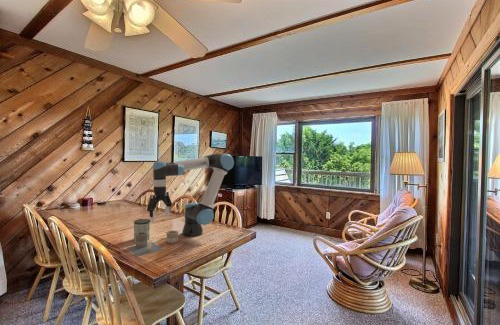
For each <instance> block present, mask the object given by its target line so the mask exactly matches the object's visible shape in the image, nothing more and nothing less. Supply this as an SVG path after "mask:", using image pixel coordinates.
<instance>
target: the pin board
mask: <svg viewBox="0 0 500 325" xmlns="http://www.w3.org/2000/svg"><path fill="white" fill-rule="evenodd" d="M126 249H127V250H128V251H130V253H132V254H133V255H135V256H136V257H140V256H145V255H149V254H150V255H151V254H154V253H157V252H162V251H165V249H164V248H162V247H161V246H159V245H158V244H156V243H154V242H153V241H151V240H148V241H147V247H144V248H136V247H135V245H132V246H129V247H126Z"/></svg>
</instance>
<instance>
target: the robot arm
mask: <svg viewBox="0 0 500 325" xmlns="http://www.w3.org/2000/svg"><path fill="white" fill-rule="evenodd" d="M234 165H235V160H234V157H233V156H232V155H230V154H228V153H213V154H209V155H204V156H203V157H200V158H198V157H197V158H193V159H185V160H181V161H180V160H179V161H173V162H166V161H154V162H153V165H152V166H153V167H152V172H153V176H152V177H153V193H154V194H150V199H149V201H148V204H147V208H146V211H147V212H148V213H149V218H150V219H149V220H150V223H155V218H156V216H155V215H156V214H155V213H156V212H155V209H156V207H157V204H158V203H159V202H161V201H162V202H163V203H164V205H165V208H164V209H165V212H164V217H166V218H169V217H170V210H171V209H170V207H172V205H173V202H172V200H171V197H170V193H169V191H167V186H166V185H167V177H172V176H173V177H175V176H182V175H184V174H185V172H187V171H191V170H192V171H193V170H198V169H204V168H205V169H212V170H213V171H212V174H211V177H210V180H209V182H208V184H207V187H206V189H205V191H204V195H203V197H202V199H201V201H200V202H193V203H192V202H190V203H186V204H185V205H184V225H183V228H182V232H181V235H182V236H184V237H189V238H190V237H192V238H193V237H199V236H201V235H203V232H204V230H203V228H202V226H207V225H209V224H210V223H212V221H213V220H214V216H215V214H214V209H215V207H214V204H215V201H216V199H217V195H218V193H219V191H220V188H221V185H222V182H223V180H224V177H225V175H227V174H228V172H229V171H230V170H231V169H233V167H234Z"/></svg>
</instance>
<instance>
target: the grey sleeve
mask: <svg viewBox="0 0 500 325" xmlns="http://www.w3.org/2000/svg"><path fill="white" fill-rule="evenodd" d="M147 242H148V241H147V232H138V233H136V242H135V245H134V246H135V247H136V248H144V247H147Z"/></svg>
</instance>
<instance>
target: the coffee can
mask: <svg viewBox="0 0 500 325" xmlns="http://www.w3.org/2000/svg"><path fill="white" fill-rule="evenodd" d="M138 232H147V242H148V241H151V240H150V239H151V222H150V219H149V218H139V219H135V220H134V221H133V241H134V242H135V243H136V233H138Z"/></svg>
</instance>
